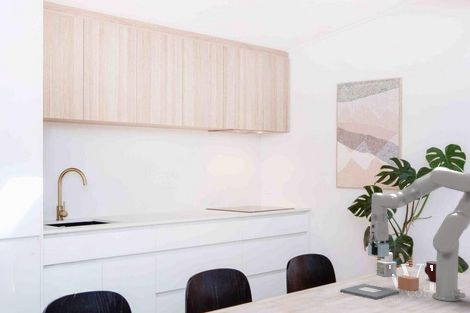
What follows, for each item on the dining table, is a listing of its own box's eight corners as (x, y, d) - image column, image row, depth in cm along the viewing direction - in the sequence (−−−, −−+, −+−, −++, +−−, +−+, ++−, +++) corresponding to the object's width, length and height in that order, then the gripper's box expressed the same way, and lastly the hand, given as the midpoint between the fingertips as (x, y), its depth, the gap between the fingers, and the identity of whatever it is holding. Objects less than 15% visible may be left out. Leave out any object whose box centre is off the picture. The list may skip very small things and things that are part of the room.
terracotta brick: (418, 289, 293) (418, 277, 293) (412, 291, 288) (412, 279, 288) (404, 287, 298) (404, 275, 298) (397, 288, 294) (398, 276, 294)
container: (376, 274, 329) (376, 251, 329) (387, 273, 333) (387, 250, 333) (385, 277, 322) (385, 253, 322) (396, 276, 326) (397, 252, 326)
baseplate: (399, 293, 284) (399, 290, 284) (376, 299, 270) (376, 296, 270) (363, 286, 298) (363, 283, 298) (340, 292, 284) (340, 289, 284)
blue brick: (388, 256, 291) (389, 243, 291) (381, 257, 287) (381, 245, 287) (375, 254, 297) (375, 242, 297) (368, 255, 293) (368, 243, 293)
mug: (419, 279, 316) (419, 261, 316) (428, 278, 321) (429, 259, 321) (435, 283, 308) (435, 264, 308) (445, 281, 312) (445, 263, 312)
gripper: (375, 219, 283) (374, 257, 283) (395, 217, 294) (394, 253, 294) (362, 218, 289) (361, 254, 289) (382, 216, 300) (382, 251, 300)
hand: (378, 253), depth 291 cm, fingers closed on blue brick, 6 cm apart
